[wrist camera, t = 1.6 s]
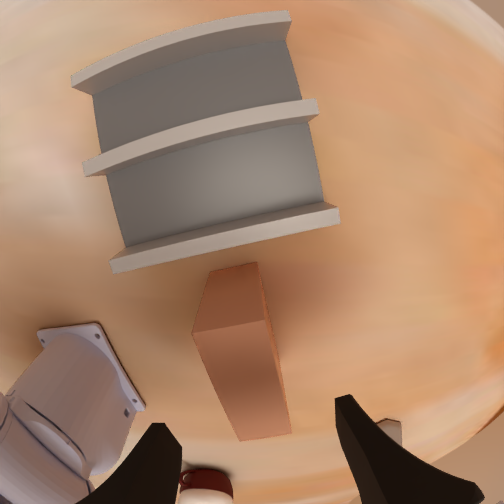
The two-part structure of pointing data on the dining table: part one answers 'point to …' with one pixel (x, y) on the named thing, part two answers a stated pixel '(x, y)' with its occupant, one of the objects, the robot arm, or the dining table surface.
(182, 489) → the cocoa
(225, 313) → the terracotta tile
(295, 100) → the dish rack
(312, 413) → the dining table surface
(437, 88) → the dining table surface
